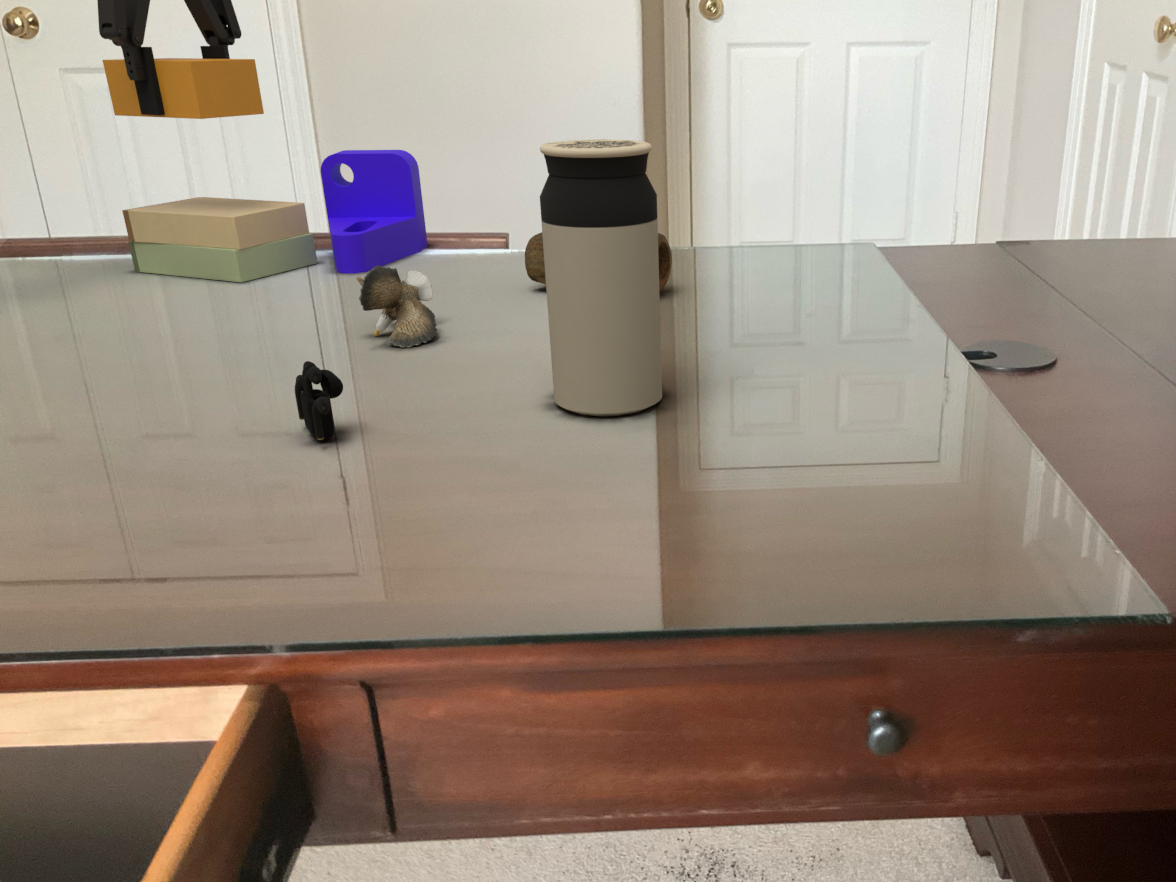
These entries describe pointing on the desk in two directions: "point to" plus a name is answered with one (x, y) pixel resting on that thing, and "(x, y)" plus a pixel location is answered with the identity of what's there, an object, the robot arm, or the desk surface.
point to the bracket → (373, 208)
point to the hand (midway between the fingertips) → (189, 111)
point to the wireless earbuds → (317, 400)
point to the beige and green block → (220, 238)
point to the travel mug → (602, 276)
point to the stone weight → (537, 265)
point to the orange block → (191, 88)
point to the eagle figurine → (399, 304)
